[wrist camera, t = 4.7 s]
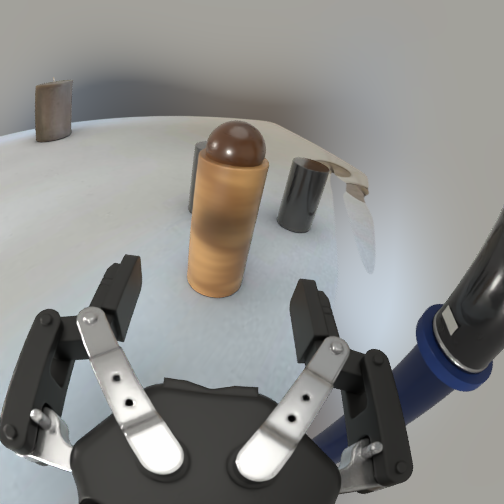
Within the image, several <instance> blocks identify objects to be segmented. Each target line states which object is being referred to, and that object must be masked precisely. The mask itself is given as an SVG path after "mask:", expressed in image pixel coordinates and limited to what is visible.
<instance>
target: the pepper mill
mask: <svg viewBox="0 0 504 504" xmlns="http://www.w3.org/2000/svg"><path fill="white" fill-rule="evenodd" d="M265 153H266V146H265V141H264V139H263V136H262V135H261V133H260V132H259V131H258V130H257V129H256V128H255V127H254V126H252V125H251V124H249V123H246V122H243V121H229V122H226V123H223V124H221V125H220V126H218V127H217V128H215V129H214V131H213V132H212V133H211V134H210V136H209V138H208V140H207V144H206V148H205V149H202V150H201V151H200V152H199V156H198V164H197V172H196V181H195V190H194V199H193V209H192V220H191V231H190V243H189V256H188V271H187V279H188V282H189V284H190V285H191V287H192V288H193V289H194V290H195V291H197V292H198V293H200V294H202V295H205V296H208V297H215V298H220V297H226V296H230V295H232V294H234V293H235V292H236V291H237V290H238V289H239V288H240V286H241V283H242V279H243V274H244V270H245V266H246V262H247V257H248V253H249V249H250V244H251V240H252V236H253V232H254V227H255V223H256V219H257V215H258V210H259V206H260V202H261V197H262V193H263V189H264V185H265V180H266V176H267V172H268V168H269V162H268V160H267V159H266V158H265Z"/></svg>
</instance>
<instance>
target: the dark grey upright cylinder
mask: <svg viewBox="0 0 504 504" xmlns="http://www.w3.org/2000/svg"><path fill="white" fill-rule="evenodd" d="M329 171H330V170H329V168H328V167H326V166H325V165H323V164H321V163H319V162H317V161H314V160H311V159H307V158H294V159H293V161H292V165H291V168H290V172H289V176H288V180H287V183H286V187H285V191H284V194H283V198H282V202H281V205H280V209H279V213H278V216H277V221H278V223H279V224H280V225H281V226H282V227H284V228H285V229H287V230H290V231H293V232H298V233H303V232H307V231H309V230H310V228H311V225H312V222H313V219H314V216H315V213H316V211H317V208H318V205H319V202H320V199H321V196H322V193H323V190H324V187H325V184H326V181H327V178H328V174H329Z"/></svg>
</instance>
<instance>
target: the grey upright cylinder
mask: <svg viewBox="0 0 504 504" xmlns="http://www.w3.org/2000/svg"><path fill="white" fill-rule="evenodd" d="M206 144H207V141H204V142H199V143H196V145H195V151H194V159H193V167H192V176H191V186H190V196H189V206H188V209H189V211H190V213H192V209H193V199H194V190H195V181H196V172H197V164H198V156H199V152H200V151H201V150H202V149H205V148H206Z"/></svg>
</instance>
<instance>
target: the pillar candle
mask: <svg viewBox="0 0 504 504" xmlns="http://www.w3.org/2000/svg"><path fill="white" fill-rule="evenodd" d="M53 79H54V78H53ZM72 83H73V80H63V81H56V82H55V81H54V82H50V83H44V84H40V85H37V86H36V93H35V124H36V126H35V127H36V129H35V130H36V141H38V142H47V141H53V140H57V139H60V138H64V137H66V136H68V135H70V134H71V105H72V104H71V103H72Z"/></svg>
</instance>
